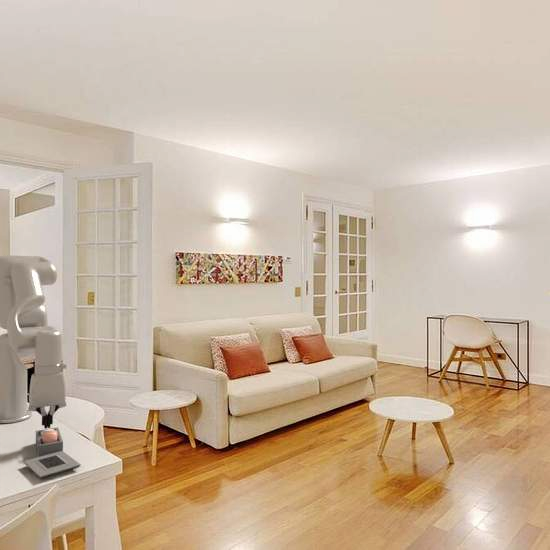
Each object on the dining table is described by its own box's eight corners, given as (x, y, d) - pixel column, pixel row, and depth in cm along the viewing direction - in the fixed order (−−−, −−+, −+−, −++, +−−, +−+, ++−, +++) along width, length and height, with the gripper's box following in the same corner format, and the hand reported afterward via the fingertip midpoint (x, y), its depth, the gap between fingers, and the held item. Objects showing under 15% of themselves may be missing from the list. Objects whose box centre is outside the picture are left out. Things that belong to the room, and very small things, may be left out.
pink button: (42, 444, 139) (42, 431, 138) (56, 442, 141) (56, 429, 141) (43, 449, 135) (43, 435, 135) (57, 446, 137) (58, 433, 137)
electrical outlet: (80, 472, 126) (80, 463, 126) (39, 484, 119) (40, 475, 119) (62, 457, 136) (62, 449, 136) (23, 468, 128) (23, 460, 128)
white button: (40, 443, 145) (40, 430, 144) (54, 440, 147) (54, 428, 147) (41, 447, 141) (41, 434, 141) (55, 445, 143) (55, 432, 143)
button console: (35, 443, 145) (35, 430, 145) (57, 439, 149) (57, 427, 148) (38, 459, 133) (38, 445, 133) (62, 455, 137) (62, 441, 136)
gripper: (72, 364, 151) (71, 419, 151) (20, 369, 143) (19, 426, 144) (75, 369, 144) (74, 427, 145) (21, 374, 137) (20, 435, 137)
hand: (47, 426), depth 144 cm, fingers closed
